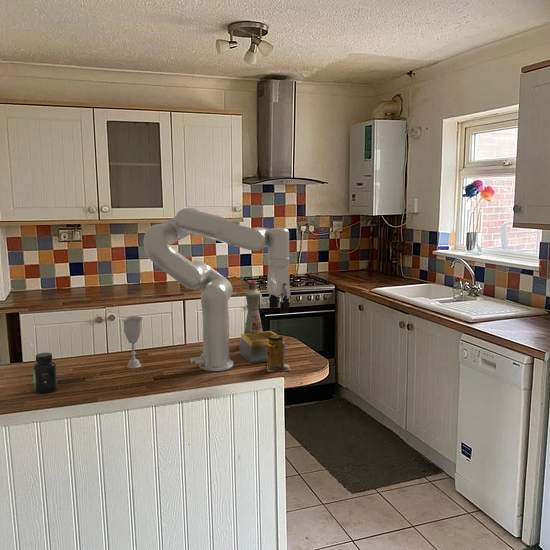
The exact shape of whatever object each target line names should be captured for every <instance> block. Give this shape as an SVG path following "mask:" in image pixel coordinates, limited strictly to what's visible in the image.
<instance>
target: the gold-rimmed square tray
mask: <svg viewBox="0 0 550 550" xmlns="http://www.w3.org/2000/svg"><path fill="white" fill-rule="evenodd" d="M271 335H278V334H277V333H275V332H273V331H272V330H267V331H263V332H256V333H247V334H244V333H240V338H239V339H238V340H239V342H238V343H239V345H238V347H239V352H238V353H240V355H241V357H243V358H244V357H245V358H244V359H245V360H246V361H248V362H249V363H250V362H251V363H250V364H253V363H252V362H255V363H260V362H259V361H262V362H268V361H267V360H268V355H267V354H268V343H269V342H268V341H269V336H271ZM283 344H284V360H285V359H286V349H287V348H286V343H285V341H284V340H283Z"/></svg>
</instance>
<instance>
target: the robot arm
mask: <svg viewBox="0 0 550 550" xmlns="http://www.w3.org/2000/svg"><path fill="white" fill-rule="evenodd" d="M190 234H191V235H195V236H199V237H203V238H206V239H210V240H215V241H217V242H219V243H224V244H226V245H229V246H233V247H238V248H240V249H245V250H248V251H249V250H250V251H259V250H261V249H263V248H267V267H268V268H267V269H268V270H267V280H266V283H267V286H266V287H267V289H266V291H267V292H268V296H269V299H268V300H269V308H270V309H275V308H276V309H277V308H279V305H280V308H279V309H280V314H289V313H290V302H291V300H290V298H291V292H292V291H291V290H290V283H291V282H290V274H289V273H290V271H289V268H290V231H289V229H287V228H285V227H273V228H269V227H268V228H266V227H262V226H261V227H260V226H259V227H258V226H257V227H254V228H253V227H248V226H244V225H241V224H237V223H234V222H231V221H230V220H227V218H225V217H222V216H220V215H215V214H212V213H207V212H203V211H200V210H199V209H197V208H194V207H186V208H182V209H180V210H178V212H177V213H176V214H175V216H174V217H171V218H170V219H168V220H167V221H164V222H163V223H157V224H153V225H152V226H149V227H148V228H147V229H146V231H145V233H144V236H143V243H142V245H143V249H144V252H145V254H146V256H147V257H148V259H149V260H150V261H151V262H152V264H154V265H156V266H157V267H158V268H159V269H161V270H162V271H163V272H164V273H166V274H167V275H168V276H170V277H171V278H173V279H174V280H175V281H176V282H178V283H179V284H181V285H182V286H183V287H184V288H186V289H188V290H195V289H196V290H197V289H199V291H201V293H200V305H201V312H202V348H203V349H202V350H203V351H202V352H203V353H202V352H201V354H200V355H199V356H198V357H190V359H189V360H190V364H196V365H199V368H200V369H201V370H204V371H207V372H208V371H209V372H221V371H227V370H230V369H232V368H233V367H234V364H235V361H233V360H232V359H231V358H230V316H229V315H230V314H229V300H230V299H231V297H232V295H233V291H234V289H233V285H232V284H231V282H230V280H229V279H227V278H226V277H224V276H223V275H222V274H220V273H219V272H218V271H216V270H215V269H214V268H213V267H211V266H209V265H208V264H207V263H205V262H203V261H201V260H193V261H191V260H189V259H188V258H186V257H185V256H184V255H182V254H181V252H179V251H177V250H175V249H174V248H172V247H171V245H173V244H175V243H176V242H179V241H181V240H182V239H184V238H186V237H188V236H190ZM279 298H280V301H281V302H280V303H279Z"/></svg>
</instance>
